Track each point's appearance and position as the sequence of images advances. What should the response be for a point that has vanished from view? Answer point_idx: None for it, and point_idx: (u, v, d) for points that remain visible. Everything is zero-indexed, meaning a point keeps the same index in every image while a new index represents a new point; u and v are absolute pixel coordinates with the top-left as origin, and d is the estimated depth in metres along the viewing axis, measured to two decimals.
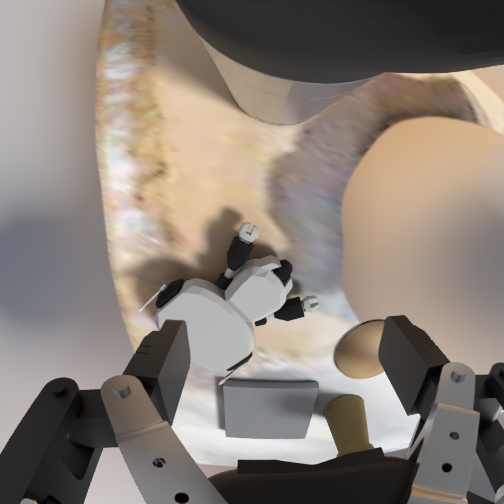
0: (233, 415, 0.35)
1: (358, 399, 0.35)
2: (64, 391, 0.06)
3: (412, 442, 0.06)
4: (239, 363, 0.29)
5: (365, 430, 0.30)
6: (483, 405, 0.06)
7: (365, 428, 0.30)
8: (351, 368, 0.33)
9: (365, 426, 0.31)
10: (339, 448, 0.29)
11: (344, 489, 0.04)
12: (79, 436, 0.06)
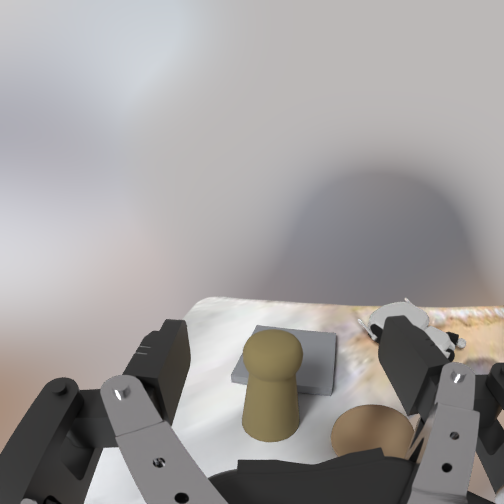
0: (294, 333, 0.41)
1: (292, 430, 0.25)
2: (64, 391, 0.06)
3: (412, 442, 0.06)
4: (381, 329, 0.36)
5: (287, 395, 0.23)
6: (483, 405, 0.06)
7: (286, 399, 0.23)
8: (352, 419, 0.26)
9: (286, 402, 0.23)
10: None
11: (344, 489, 0.04)
12: (79, 436, 0.06)
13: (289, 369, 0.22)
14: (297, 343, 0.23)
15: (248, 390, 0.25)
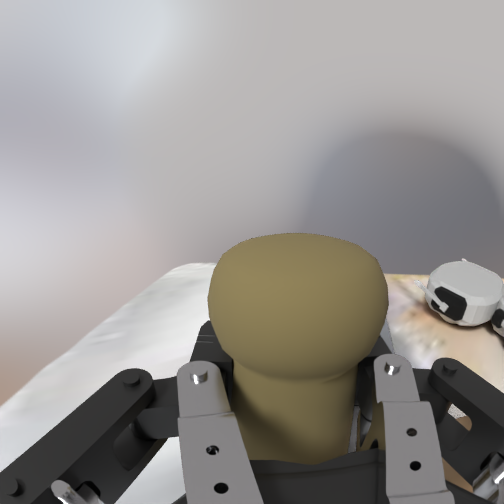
0: None
1: None
2: (138, 382, 0.07)
3: (360, 440, 0.07)
4: (453, 294, 0.20)
5: (338, 420, 0.08)
6: (423, 400, 0.07)
7: (334, 429, 0.08)
8: None
9: (333, 436, 0.08)
10: None
11: (344, 489, 0.04)
12: (141, 428, 0.07)
13: (363, 333, 0.06)
14: (372, 256, 0.08)
15: None
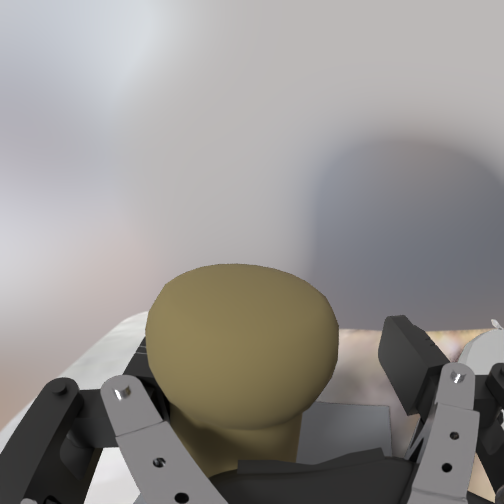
0: None
1: None
2: (64, 391, 0.06)
3: (412, 442, 0.06)
4: None
5: None
6: (483, 405, 0.06)
7: None
8: None
9: None
10: None
11: (344, 489, 0.04)
12: (79, 436, 0.06)
13: (295, 396, 0.05)
14: (325, 305, 0.07)
15: None
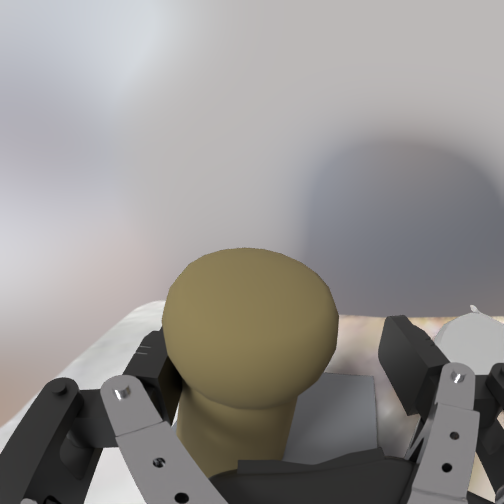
0: None
1: None
2: (64, 391, 0.06)
3: (412, 442, 0.06)
4: None
5: (276, 426, 0.09)
6: (483, 405, 0.06)
7: (272, 432, 0.09)
8: None
9: (270, 437, 0.09)
10: None
11: (344, 489, 0.04)
12: (79, 436, 0.06)
13: (299, 386, 0.07)
14: (329, 301, 0.08)
15: (181, 396, 0.10)
